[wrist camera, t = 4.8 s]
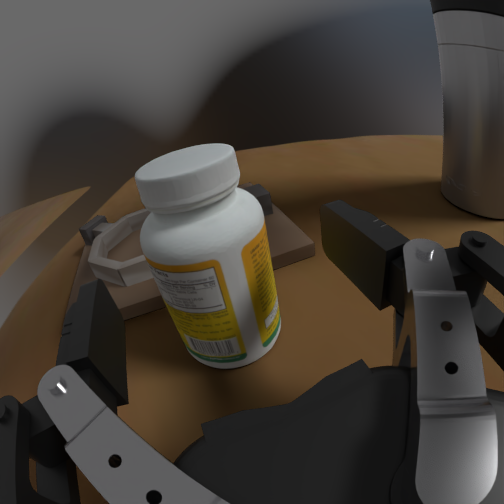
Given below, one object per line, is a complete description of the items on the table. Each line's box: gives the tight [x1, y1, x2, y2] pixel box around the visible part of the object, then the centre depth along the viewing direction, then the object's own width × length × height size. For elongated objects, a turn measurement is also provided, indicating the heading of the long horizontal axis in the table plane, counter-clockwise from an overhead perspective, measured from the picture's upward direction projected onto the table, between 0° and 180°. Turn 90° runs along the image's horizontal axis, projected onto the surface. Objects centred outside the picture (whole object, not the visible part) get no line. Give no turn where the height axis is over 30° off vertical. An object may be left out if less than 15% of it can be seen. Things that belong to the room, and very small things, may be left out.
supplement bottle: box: [135, 144, 281, 369], centre depth 14 cm, size 5×5×10 cm
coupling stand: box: [63, 182, 315, 328], centre depth 24 cm, size 18×14×3 cm
